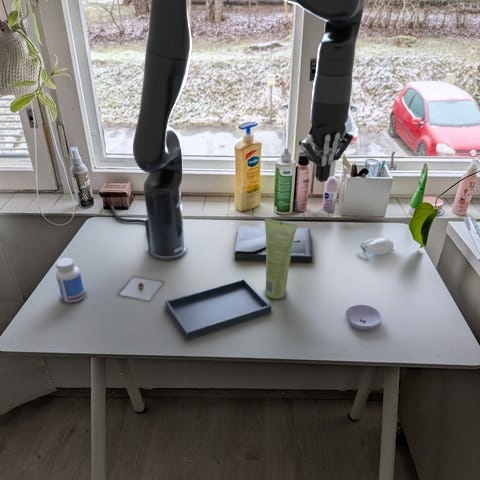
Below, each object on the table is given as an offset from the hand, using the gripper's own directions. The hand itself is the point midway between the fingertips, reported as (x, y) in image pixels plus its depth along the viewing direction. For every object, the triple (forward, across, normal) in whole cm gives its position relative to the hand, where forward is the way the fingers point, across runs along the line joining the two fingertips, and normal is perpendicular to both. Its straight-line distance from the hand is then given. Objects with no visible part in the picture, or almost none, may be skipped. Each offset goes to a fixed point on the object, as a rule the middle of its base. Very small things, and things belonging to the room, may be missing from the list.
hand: (321, 180), depth 110 cm
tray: (+27, +26, -1) cm, 37 cm away
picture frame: (+27, -2, -20) cm, 34 cm away
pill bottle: (+28, +54, -23) cm, 65 cm away
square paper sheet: (+28, +38, -18) cm, 51 cm away
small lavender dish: (+27, -1, +19) cm, 33 cm away
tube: (+27, +10, 0) cm, 29 cm away
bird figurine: (+27, -24, -3) cm, 36 cm away
